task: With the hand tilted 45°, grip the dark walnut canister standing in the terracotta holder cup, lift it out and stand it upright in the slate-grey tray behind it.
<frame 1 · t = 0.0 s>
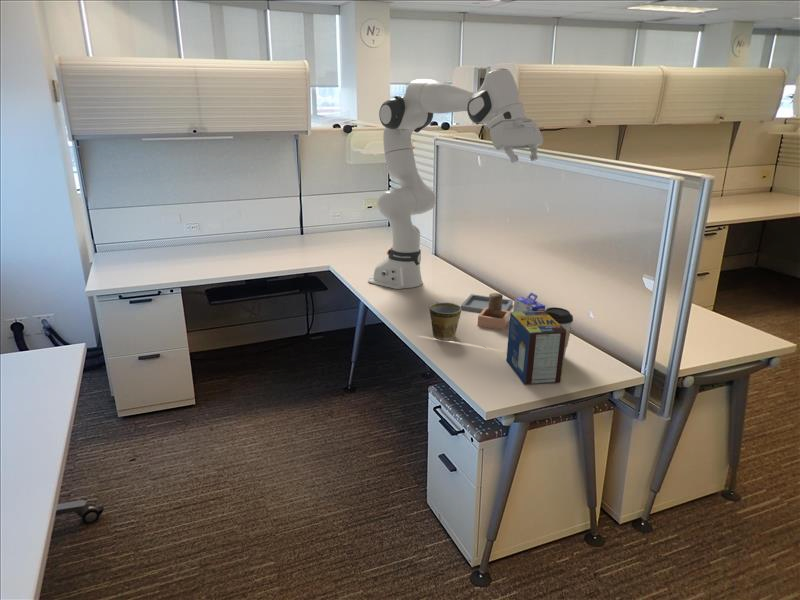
hand: (525, 161, 176), 54 cm above the table, tool tilted 30°, fingers open, 8 cm apart
ceramic cup: (442, 335, 184), on the table
tray: (486, 307, 209), on the table
protein box: (531, 372, 161), on the table
coffee cup: (552, 357, 170), on the table
ink cartridge box: (525, 337, 184), on the table
canister: (493, 322, 193), point 1 cm above the table, touching holder cup
holder cup: (493, 324, 193), on the table
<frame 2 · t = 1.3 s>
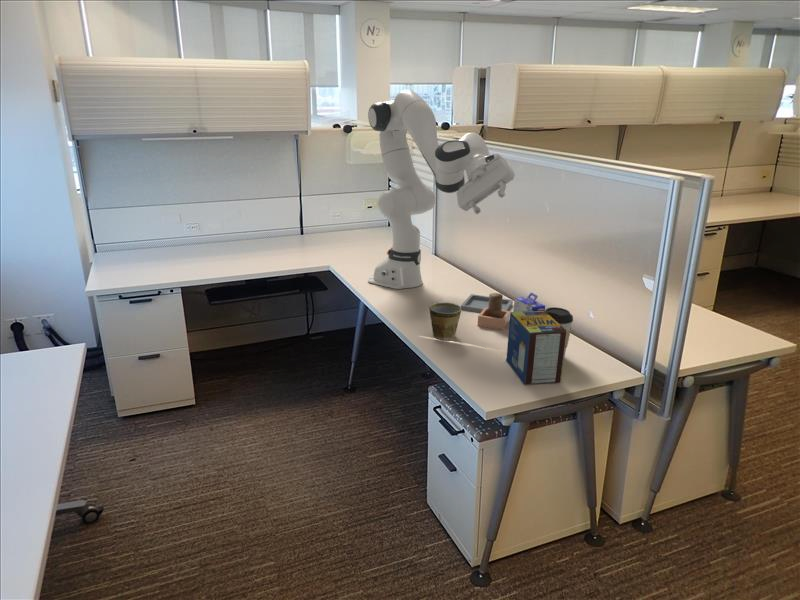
hand: (489, 204, 177), 41 cm above the table, tool tilted 55°, fingers open, 8 cm apart
nothing on the table moved.
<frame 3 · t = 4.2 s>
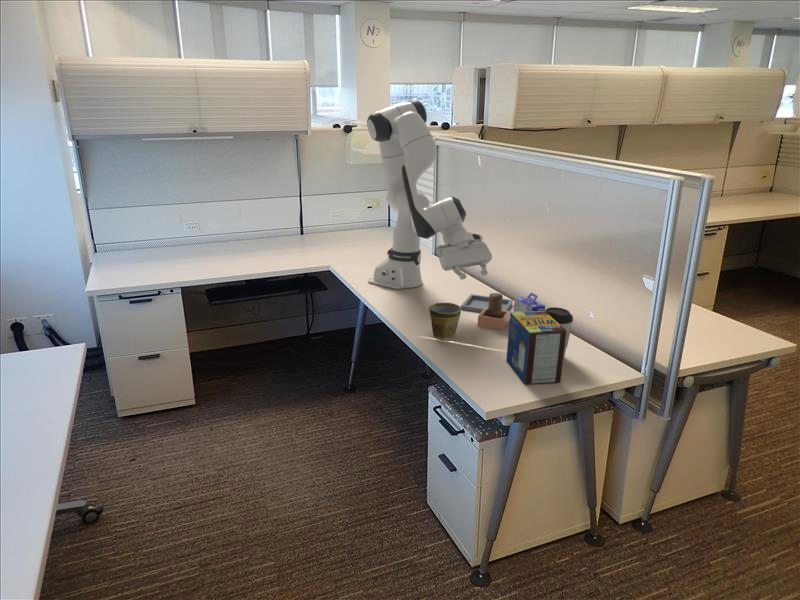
hand: (474, 276, 195), 15 cm above the table, tool tilted 45°, fingers open, 8 cm apart
nothing on the table moved.
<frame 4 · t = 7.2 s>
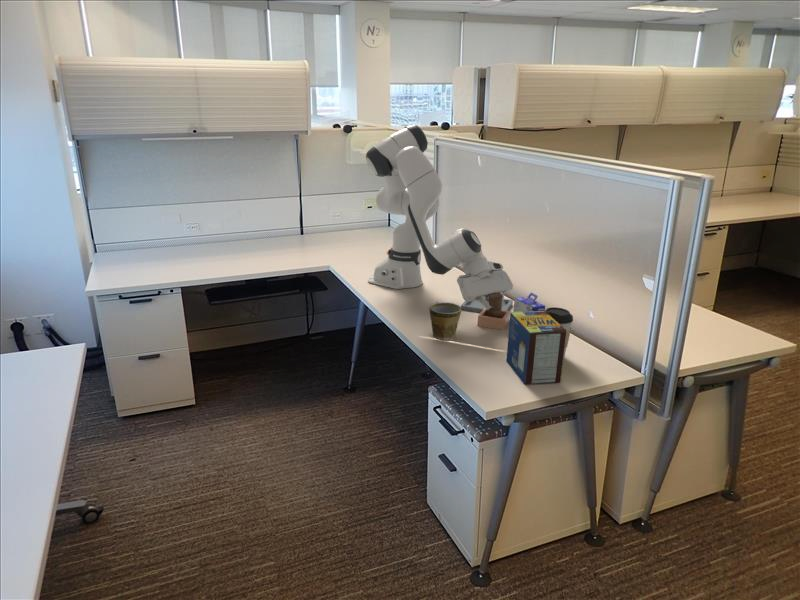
hand: (496, 307, 191), 6 cm above the table, tool tilted 45°, fingers closed on canister, 4 cm apart
canister: (493, 322, 193), point 1 cm above the table, touching gripper, holder cup
everything else where it was.
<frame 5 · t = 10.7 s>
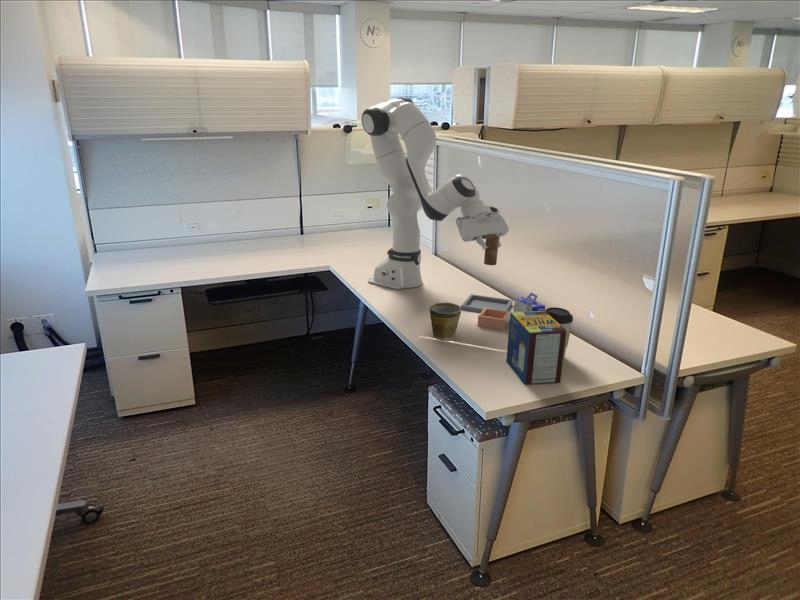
hand: (492, 247, 200), 23 cm above the table, tool tilted 45°, fingers closed on canister, 4 cm apart
canister: (490, 263, 203), point 17 cm above the table, touching gripper
everything else where it was.
when the fingers open (8 cm above the table, at t = 14.1 s): canister drops 1 cm, resting on tray.
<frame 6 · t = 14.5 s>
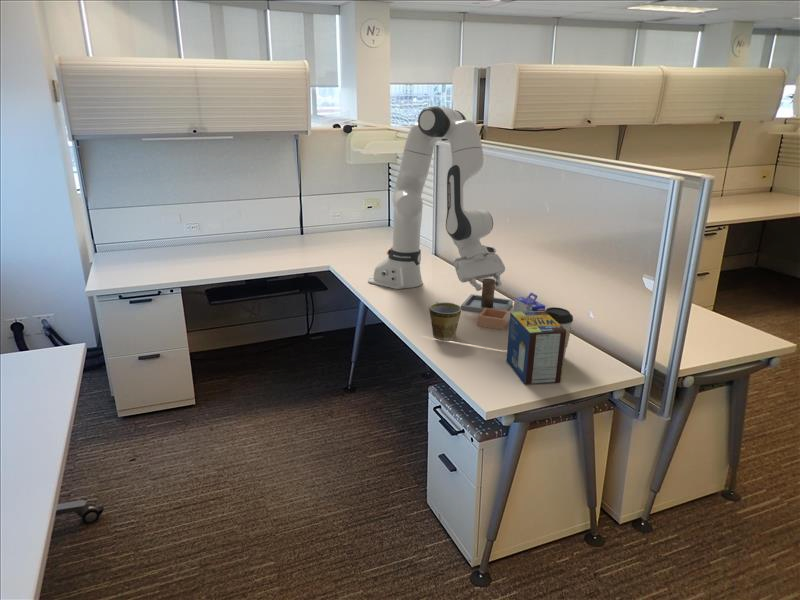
hand: (489, 287, 205), 8 cm above the table, tool tilted 45°, fingers open, 8 cm apart
canister: (487, 306, 208), point 1 cm above the table, touching tray
everything else where it was.
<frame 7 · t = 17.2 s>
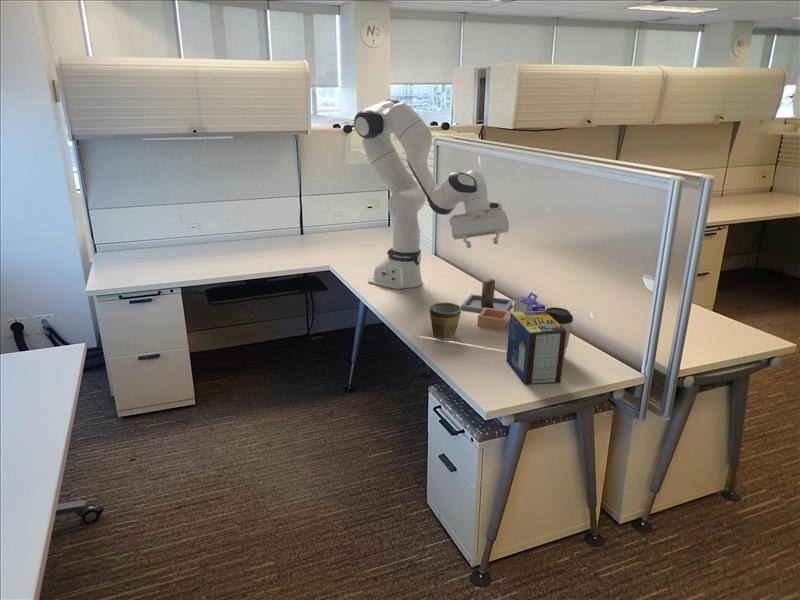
hand: (482, 245, 199), 24 cm above the table, tool tilted 45°, fingers open, 8 cm apart
nothing on the table moved.
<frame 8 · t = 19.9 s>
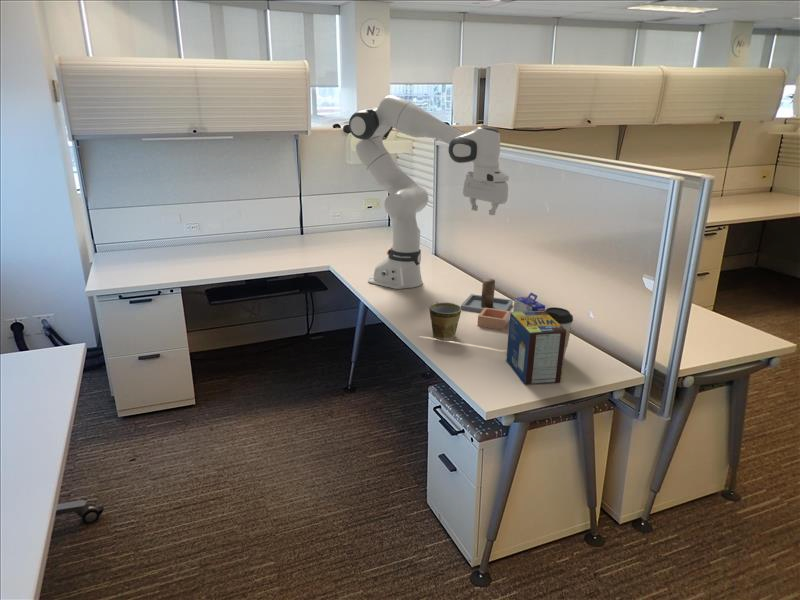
hand: (483, 212, 207), 33 cm above the table, tool pointing down, fingers open, 8 cm apart
nothing on the table moved.
at the end: canister inside the target area on the tray (0.0 cm from its centre), point 0.6 cm above the tray's base; canister tilted 0°; the gripper is holding nothing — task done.
